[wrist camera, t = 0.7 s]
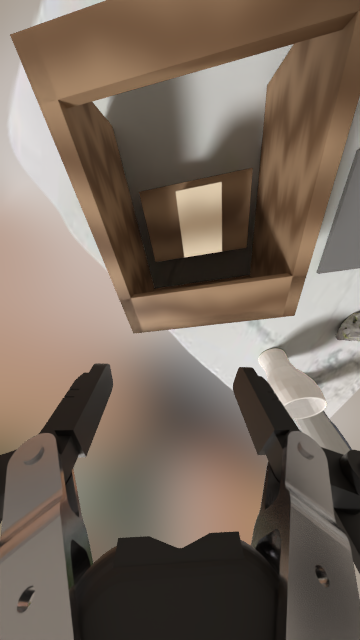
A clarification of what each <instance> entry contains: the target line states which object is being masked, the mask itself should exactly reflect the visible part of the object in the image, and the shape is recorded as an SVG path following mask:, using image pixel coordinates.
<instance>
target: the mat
mask: <svg viewBox="0 0 360 640" xmlns="http://www.w3.org/2000/svg"><path fill="white" fill-rule="evenodd" d="M357 268H360V149H359V150H357V152H356V155H355V158H354V161H353V164H352V167H351V170H350V173H349V176H348V179H347V182H346V185H345V188H344V191H343V194H342V197H341V200H340V203H339V206H338V209H337V212H336V216H335V219H334V222H333V225H332V228H331V231H330V234H329V237H328V240H327V243H326V246H325V249H324V252H323V255H322V258H321V261H320V264H319V267H318V270H317V273H318V274H320V273H327V272H335V271H342V270H349V269H357Z"/></svg>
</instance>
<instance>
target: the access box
mask: <svg viewBox="0 0 360 640" xmlns="http://www.w3.org/2000/svg"><path fill="white" fill-rule="evenodd" d="M10 36H11V38H12V41H13V43H14V45H15V48H16V50H17V52H18V55H19V57H20V60H21V62H22V65H23V67H24V70H25V72H26V74H27V77H28V79H29V82H30V84H31V86H32V89H33V91H34V94H35V96H36V99H37V101H38V103H39V106H40V108H41V111H42V113H43V116H44V118H45V120H46V123H47V125H48V128H49V130H50V132H51V135H52V137H53V140H54V142H55V145H56V147H57V149H58V152H59V154H60V157H61V159H62V162H63V164H64V166H65V169H66V171H67V174H68V176H69V178H70V181H71V183H72V186H73V188H74V191H75V193H76V195H77V198H78V200H79V203H80V205H81V208H82V210H83V212H84V215H85V217H86V220H87V222H88V224H89V227H90V229H91V232H92V234H93V237H94V239H95V241H96V244H97V246H98V249H99V251H100V254H101V256H102V258H103V261H104V263H105V266H106V268H107V270H108V273H109V275H110V278H111V280H112V282H113V285H114V287H115V290H116V292H117V295H118V297H119V300H120V302H121V304H122V307H123V309H124V311H125V314H126V316H127V319H128V321H129V324H130V326H131V328H132V331H133V333H142V332H151V331H159V330H169V329H178V328H187V327H196V326H205V325H214V324H223V323H232V322H241V321H250V320H259V319H268V318H277V317H286V316H294V315H295V312H296V309H297V305H298V302H299V299H300V295H301V292H302V289H303V285H304V282H305V278H306V275H307V272H308V268H309V265H310V262H311V258H312V255H313V251H314V248H315V245H316V241H317V238H318V235H319V231H320V228H321V225H322V221H323V218H324V214H325V211H326V208H327V204H328V201H329V198H330V194H331V191H332V187H333V184H334V181H335V177H336V174H337V171H338V167H339V164H340V161H341V157H342V154H343V150H344V147H345V144H346V140H347V137H348V134H349V130H350V127H351V123H352V120H353V117H354V113H355V110H356V107H357V103H358V100H359V96H360V0H106V1H103V2H100V3H98V4H95V5H92V6H89V7H86V8H84V9H81V10H78V11H75V12H72V13H70V14H67V15H64V16H61V17H58V18H56V19H53V20H50V21H47V22H44V23H41V24H39V25H36V26H33V27H30V28H28V29H25V30H22V31H19V32H16V33H14V34H11V35H10ZM291 44H294V45H293V46H292V48H291V49H290V51H289V52H288V54H287V56H286V57H285V59H284V60H283V62H282V63H281V65H280V66H279V68H278V70H277V71H276V73H275V74H274V76H273V77H272V79H271V81H270V82H269V84H268V85H267V94H266V105H265V116H264V127H263V138H262V148H261V159H260V170H259V181H258V192H257V202H256V213H255V224H254V235H253V246H252V257H251V267H250V275H245V276H238V277H231V278H224V279H217V280H210V281H202V282H195V283H188V284H181V285H174V286H167V287H160V288H155V287H154V283H153V280H152V276H151V272H150V268H149V264H148V261H147V257H146V253H145V249H144V245H143V242H142V238H141V234H140V230H139V226H138V222H137V219H136V215H135V211H134V207H133V203H132V200H131V196H130V192H129V188H128V184H127V181H126V177H125V173H124V169H123V165H122V161H121V158H120V154H119V150H118V146H117V142H116V139H115V135H114V131H113V127H112V125H111V124H110V123H109V122H108V120H107V119H106V118H105V117H104V116H103V114H102V113H101V112H100V111H99V109H98V108H97V107H96V106H95V105H94V103H93V102H92V101H95V100H99V99H102V98H106V97H109V96H113V95H116V94H120V93H123V92H127V91H130V90H134V89H137V88H141V87H144V86H148V85H151V84H155V83H158V82H162V81H165V80H169V79H172V78H176V77H179V76H183V75H186V74H190V73H193V72H197V71H200V70H204V69H207V68H211V67H214V66H218V65H221V64H225V63H228V62H232V61H235V60H239V59H242V58H246V57H249V56H253V55H256V54H260V53H263V52H267V51H270V50H274V49H277V48H281V47H284V46H288V45H291ZM252 170H253V168H249V169H244V170H240V171H235V172H230V173H226V174H221V175H216V176H211V177H207V178H202V179H197V180H193V181H188V182H183V183H178V184H174V185H169V186H164V187H159V188H155V189H150V190H145V191H141V192H139V194H140V199H141V203H142V207H143V211H144V216H145V220H146V224H147V228H148V233H149V237H150V241H151V245H152V249H153V254H154V258H155V262H159V261H166V260H172V259H178V258H184V251H183V243H182V236H181V229H180V221H179V214H178V206H177V199H176V191H180V190H185V189H189V188H194V187H199V186H204V185H209V184H214V183H218V182H222V251H228V250H234V249H241V248H247V238H248V224H249V211H250V197H251V184H252Z"/></svg>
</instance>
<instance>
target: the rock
mask: <svg viewBox="0 0 360 640" xmlns="http://www.w3.org/2000/svg"><path fill="white" fill-rule="evenodd" d="M336 338H337V340H348V341H352V340H356V341H360V312H359V313H353V314H352V315H350V316H349V317H348V318H347V319H346V320H345V321H344V322H343V323H342V324H341V327H340V328H339V330H338V333H337V334H336Z"/></svg>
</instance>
